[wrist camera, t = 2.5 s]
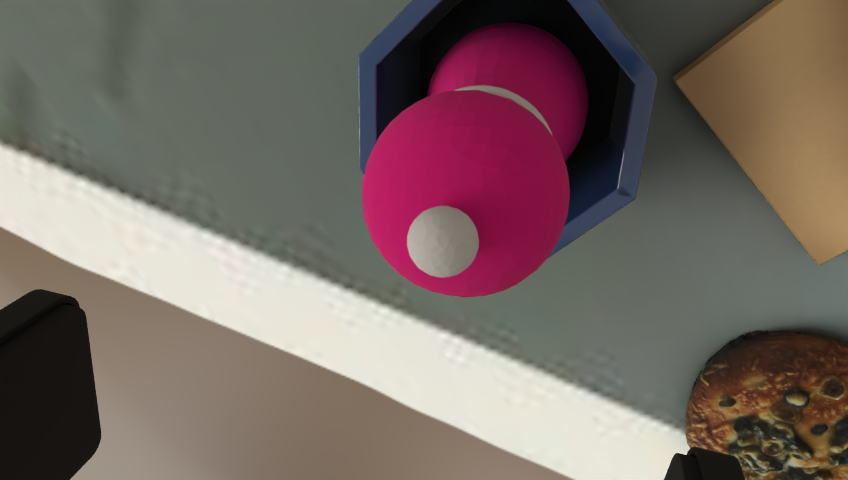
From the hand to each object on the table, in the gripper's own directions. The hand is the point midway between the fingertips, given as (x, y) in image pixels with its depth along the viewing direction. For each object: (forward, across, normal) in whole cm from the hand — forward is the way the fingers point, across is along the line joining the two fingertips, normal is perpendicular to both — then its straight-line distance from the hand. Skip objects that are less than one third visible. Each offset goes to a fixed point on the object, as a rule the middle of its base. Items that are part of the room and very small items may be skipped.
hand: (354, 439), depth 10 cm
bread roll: (+26, -18, +15) cm, 35 cm away
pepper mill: (+26, 0, -1) cm, 26 cm away
